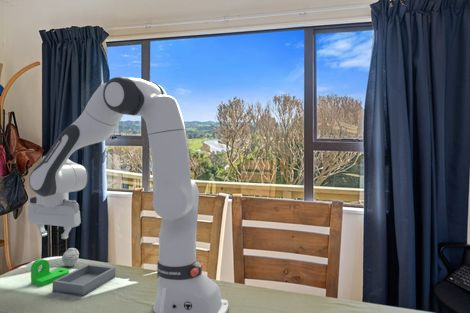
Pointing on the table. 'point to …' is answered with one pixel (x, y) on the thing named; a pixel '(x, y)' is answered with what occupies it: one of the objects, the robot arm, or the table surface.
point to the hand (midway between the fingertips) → (54, 237)
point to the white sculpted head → (70, 257)
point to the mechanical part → (45, 273)
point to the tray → (83, 280)
